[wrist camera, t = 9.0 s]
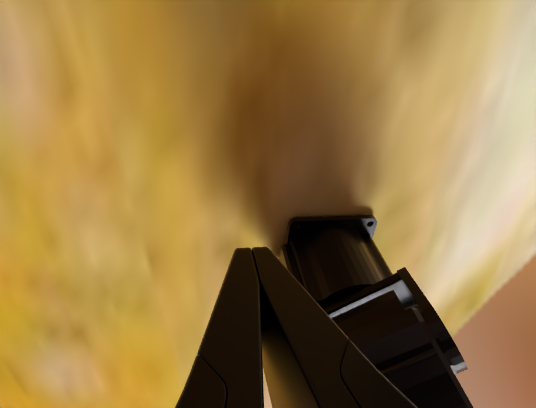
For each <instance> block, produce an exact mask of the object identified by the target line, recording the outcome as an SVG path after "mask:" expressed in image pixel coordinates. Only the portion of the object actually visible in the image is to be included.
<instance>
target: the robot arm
mask: <svg viewBox="0 0 536 408" xmlns="http://www.w3.org/2000/svg"><path fill="white" fill-rule="evenodd" d="M370 221H371V222H370ZM368 222H370V223H368ZM295 224H298V225H297V226H294V225H295ZM376 225H377V221H376V219H375V217H374V216H372V215H357V216H327V217H297V218H293V219H291V220H290V221H289V223H288V229H287V236H286V243H285V244H283V245H282V246H281V250H280V257H279V259H278V258H277V257H276V256H275V255H274V254H273V253H272V251H271V250H270V249H269V248H267V247H254V248H252V250H251V248H236V249H235V251H234V253H233V256H232V259H231V262H230V264H229V267H228V270H227V273H226V275H225V278H224V281H223V284H222V287H221V289H220V292H219V295H218V298H217V300H216V303H215V306H214V309H213V311H212V314H211V317H210V320H209V323H208V325H207V328H206V331H205V334H204V336H203V339H202V342H201V345H200V348H199V350H198V353H197V356H196V358H195V361H194V363H193V366H192V369H191V372H190V374H189V377H188V379H187V382H186V384H185V387H184V389H183V392H182V394H181V396H180V398H179V400H178V402H177V404H176V407H175V408H264V395H263V368H264V373H265V377H266V381H267V386H268V390H269V395H270V399H271V403H272V408H473V406H472V404H471V403H470V401H469V399H468V397H467V396H466V394H465V392H464V390H463V388H462V387H461V385H460V383H459V381H458V380H457V378H456V376H455V374H457V373H459V372H462V371H464V370H467V366H466V364H465V361H464V360H463V357H462V356H461V354H460V352H459V350H458V348H457V346H456V344H455V343H454V341H453V339H452V337H451V336H450V334H449V332H448V331H447V329H446V327H445V326H444V324H443V322H442V321H441V319H440V318H439V316H438V314H437V313H436V311H435V310H434V308H433V307H432V305H431V304H430V302H429V301H428V300H427V298H426V297H425V295H424V294H423V292H422V291H421V290H420V288H419V287H418V285H417V284H416V282H415V281H414V280H413V278H412V277H411V275H410V274H409V272H408V271H407V269H406V268H405V267H404V268H402V269H400V270H398V271H397V273H395V274H392V272H391V271H390V269H389V267H388V266H387V264H386V262H385V260H384V259H383V257H382V255H381V253H380V252H379V250H378V248H377V247H376V245H375V243H374V241H373V240H372V237H373V234H374V231H375V228H376Z"/></svg>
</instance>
